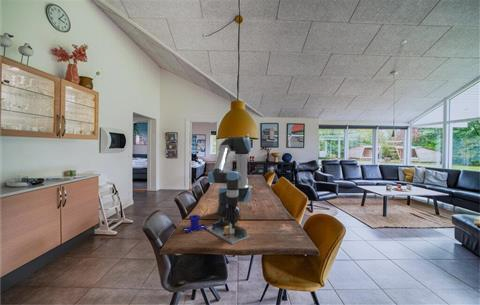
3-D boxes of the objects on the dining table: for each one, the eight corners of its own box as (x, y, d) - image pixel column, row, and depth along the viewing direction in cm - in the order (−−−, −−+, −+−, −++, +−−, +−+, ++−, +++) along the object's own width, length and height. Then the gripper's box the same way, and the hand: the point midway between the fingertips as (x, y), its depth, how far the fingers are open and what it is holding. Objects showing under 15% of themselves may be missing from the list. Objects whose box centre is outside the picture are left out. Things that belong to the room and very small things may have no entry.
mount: (203, 225, 153) (203, 213, 152) (206, 229, 146) (206, 216, 146) (182, 229, 145) (182, 217, 145) (185, 233, 139) (185, 220, 138)
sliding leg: (223, 233, 135) (223, 222, 135) (235, 229, 142) (235, 218, 142) (226, 235, 132) (226, 223, 132) (238, 230, 140) (239, 219, 139)
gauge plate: (206, 229, 145) (206, 219, 145) (222, 224, 154) (222, 215, 154) (232, 244, 124) (232, 232, 124) (249, 237, 134) (249, 226, 133)
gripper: (221, 194, 135) (221, 231, 135) (234, 199, 125) (234, 238, 126) (230, 193, 140) (230, 228, 140) (243, 197, 130) (243, 234, 131)
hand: (232, 232), depth 133 cm, fingers closed
